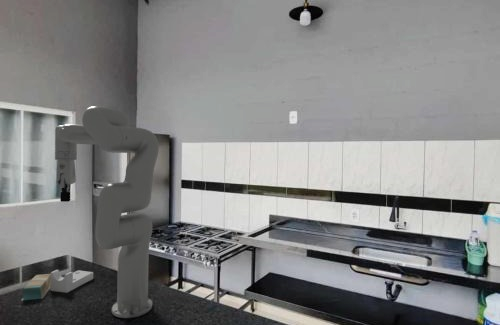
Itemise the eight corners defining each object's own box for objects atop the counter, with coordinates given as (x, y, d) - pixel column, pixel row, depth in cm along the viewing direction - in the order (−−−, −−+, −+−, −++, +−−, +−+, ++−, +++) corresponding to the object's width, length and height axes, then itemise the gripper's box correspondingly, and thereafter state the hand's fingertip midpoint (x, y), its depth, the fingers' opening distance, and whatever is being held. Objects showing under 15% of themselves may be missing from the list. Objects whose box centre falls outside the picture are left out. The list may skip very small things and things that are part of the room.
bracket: (66, 295, 109) (67, 274, 109) (50, 292, 111) (50, 272, 111) (93, 281, 122) (93, 262, 122) (78, 278, 123) (78, 260, 123)
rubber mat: (42, 299, 105) (42, 298, 105) (20, 302, 103) (20, 300, 103) (58, 278, 123) (58, 276, 123) (40, 279, 121) (40, 278, 121)
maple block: (51, 284, 116) (40, 298, 105) (36, 285, 114) (23, 300, 103) (51, 273, 116) (40, 287, 104) (36, 275, 114) (23, 288, 103)
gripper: (71, 156, 117) (71, 204, 118) (80, 156, 131) (79, 198, 132) (49, 156, 115) (48, 204, 115) (60, 155, 129) (60, 198, 130)
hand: (65, 201), depth 124 cm, fingers closed
